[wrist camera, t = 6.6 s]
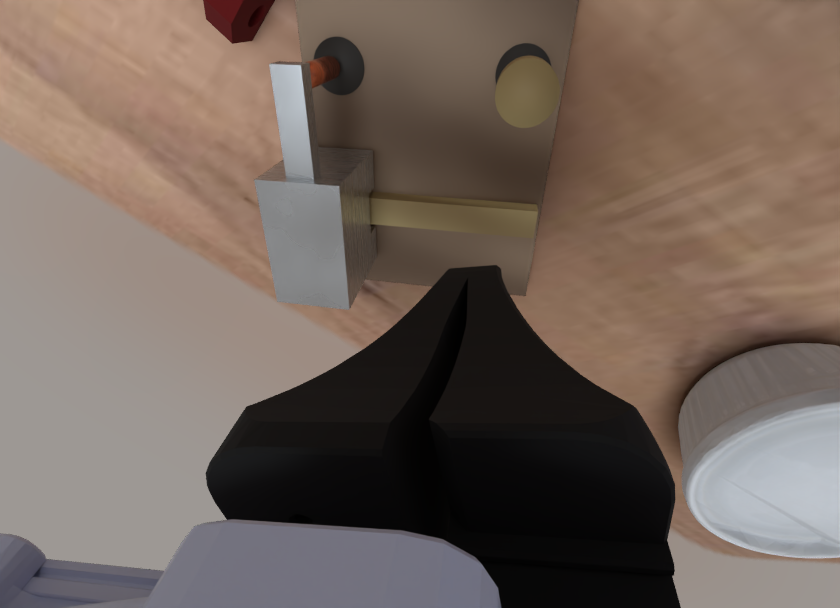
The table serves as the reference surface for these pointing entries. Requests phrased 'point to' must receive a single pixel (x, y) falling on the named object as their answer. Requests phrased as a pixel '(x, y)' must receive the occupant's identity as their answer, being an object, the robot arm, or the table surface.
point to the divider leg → (315, 199)
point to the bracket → (237, 17)
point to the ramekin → (767, 450)
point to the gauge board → (445, 123)
